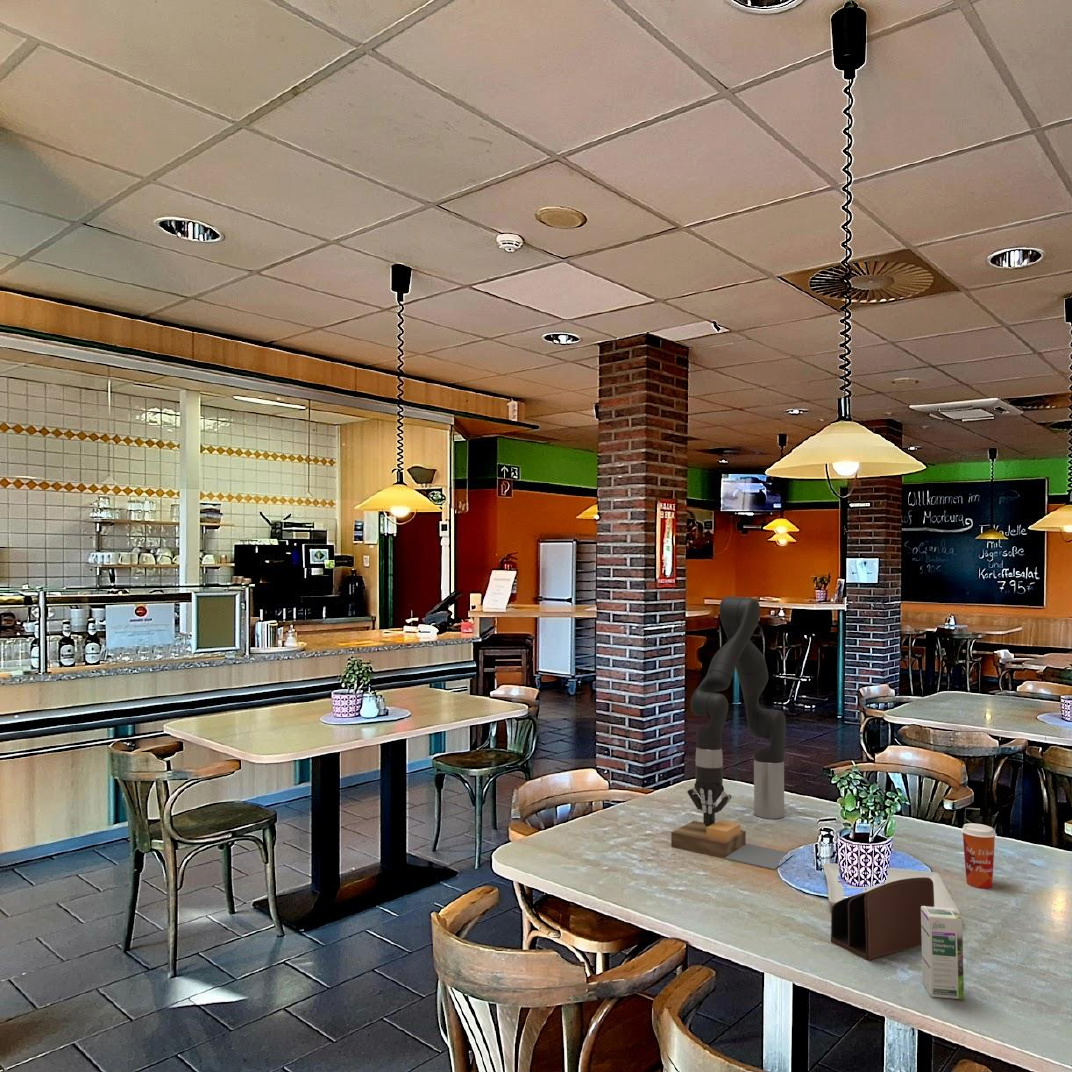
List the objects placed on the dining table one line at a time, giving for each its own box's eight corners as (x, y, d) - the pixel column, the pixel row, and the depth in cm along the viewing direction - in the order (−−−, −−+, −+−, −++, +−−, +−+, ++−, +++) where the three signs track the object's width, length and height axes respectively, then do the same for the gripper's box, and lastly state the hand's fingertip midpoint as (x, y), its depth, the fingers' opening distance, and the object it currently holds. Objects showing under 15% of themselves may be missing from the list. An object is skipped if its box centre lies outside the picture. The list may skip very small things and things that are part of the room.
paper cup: (964, 887, 207) (963, 829, 208) (960, 877, 214) (959, 821, 215) (1000, 892, 204) (999, 833, 205) (994, 881, 212) (994, 824, 212)
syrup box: (930, 997, 153) (929, 916, 154) (921, 982, 159) (920, 903, 160) (964, 1000, 152) (963, 918, 153) (953, 985, 158) (952, 906, 159)
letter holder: (936, 942, 177) (935, 874, 177) (868, 962, 168) (867, 889, 168) (896, 924, 185) (895, 859, 186) (829, 942, 176) (829, 873, 177)
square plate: (937, 886, 209) (937, 870, 209) (961, 931, 183) (961, 913, 183) (822, 875, 216) (822, 859, 217) (829, 916, 190) (829, 899, 190)
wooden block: (693, 834, 248) (693, 820, 248) (745, 845, 238) (745, 830, 238) (671, 846, 237) (671, 832, 237) (724, 858, 227) (724, 843, 227)
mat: (746, 844, 239) (746, 843, 239) (794, 854, 230) (794, 853, 230) (724, 859, 227) (724, 857, 227) (774, 870, 218) (774, 868, 218)
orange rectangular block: (720, 828, 240) (720, 820, 240) (740, 832, 237) (740, 823, 237) (706, 836, 233) (706, 827, 233) (726, 841, 229) (726, 831, 229)
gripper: (736, 764, 237) (736, 827, 236) (693, 758, 245) (693, 818, 244) (725, 769, 231) (725, 834, 231) (681, 762, 239) (681, 824, 239)
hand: (709, 826), depth 237 cm, fingers closed
